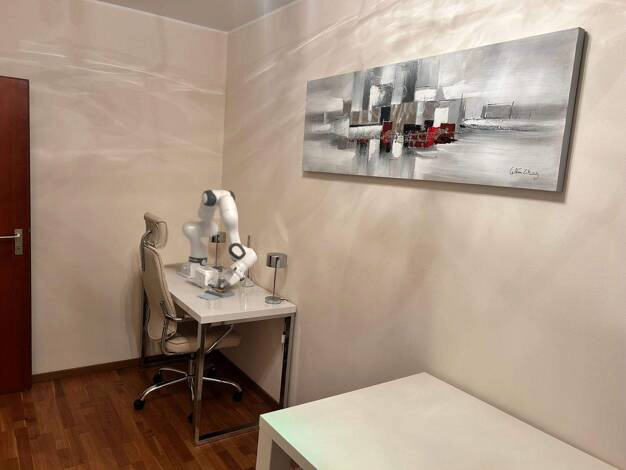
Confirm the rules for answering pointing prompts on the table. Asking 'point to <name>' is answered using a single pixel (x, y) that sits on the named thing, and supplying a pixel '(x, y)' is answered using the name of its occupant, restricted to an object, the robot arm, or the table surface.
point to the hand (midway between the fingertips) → (219, 285)
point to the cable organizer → (206, 277)
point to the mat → (208, 296)
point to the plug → (220, 281)
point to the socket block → (222, 294)
